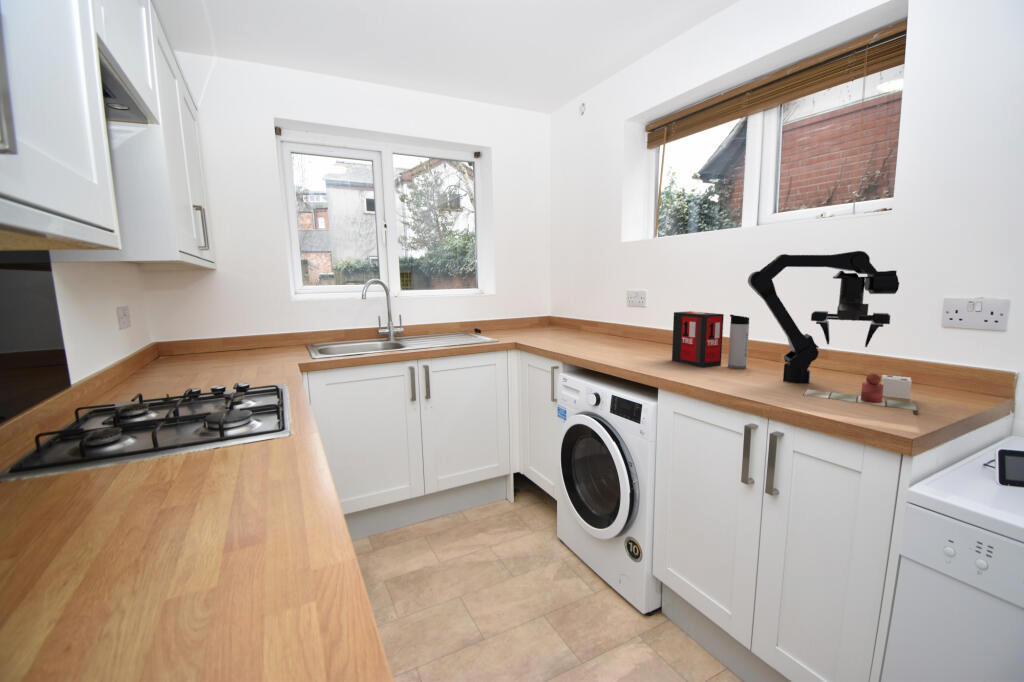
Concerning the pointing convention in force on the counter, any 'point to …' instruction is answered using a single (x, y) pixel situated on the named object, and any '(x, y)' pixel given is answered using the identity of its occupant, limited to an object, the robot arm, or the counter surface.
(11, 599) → the counter surface
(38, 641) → the counter surface
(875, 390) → the pawn
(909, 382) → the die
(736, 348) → the travel mug
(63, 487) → the counter surface
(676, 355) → the cleaning product box
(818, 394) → the board
